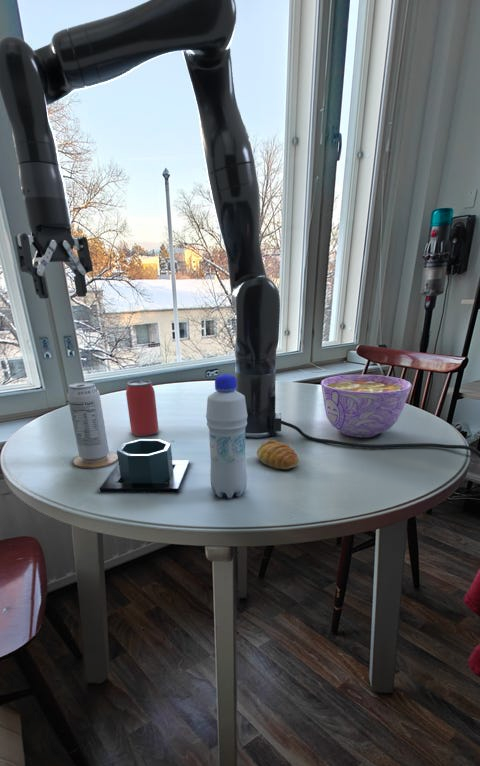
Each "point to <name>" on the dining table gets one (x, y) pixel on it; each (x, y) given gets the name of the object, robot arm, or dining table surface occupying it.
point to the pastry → (277, 455)
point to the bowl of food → (364, 403)
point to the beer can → (142, 408)
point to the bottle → (227, 437)
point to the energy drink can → (88, 421)
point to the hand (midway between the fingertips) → (63, 297)
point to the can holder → (146, 468)
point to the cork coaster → (110, 460)
